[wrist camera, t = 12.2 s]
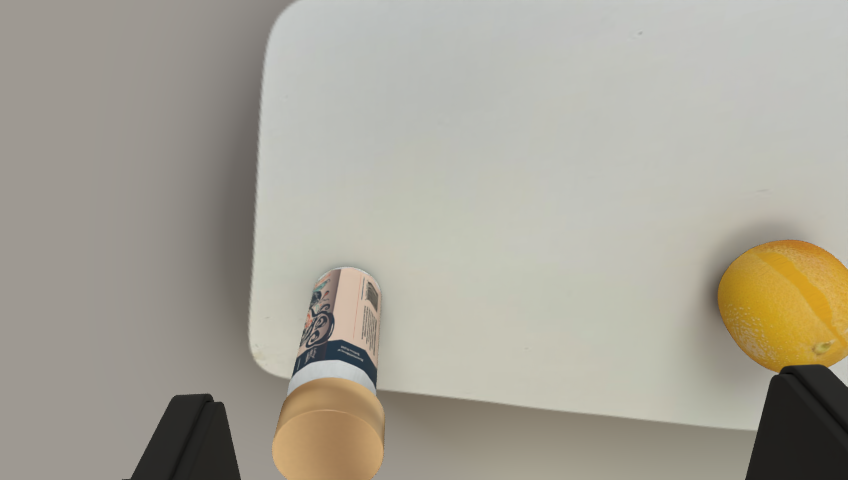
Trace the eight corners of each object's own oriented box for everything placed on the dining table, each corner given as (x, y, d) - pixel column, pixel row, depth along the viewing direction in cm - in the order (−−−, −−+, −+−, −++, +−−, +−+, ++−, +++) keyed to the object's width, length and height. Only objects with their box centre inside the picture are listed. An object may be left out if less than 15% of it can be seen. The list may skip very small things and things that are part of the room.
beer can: (318, 257, 42) (289, 365, 31) (387, 269, 43) (382, 379, 32) (309, 316, 44) (279, 437, 33) (375, 326, 45) (367, 449, 34)
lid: (289, 460, 34) (281, 497, 32) (272, 380, 32) (262, 414, 29) (389, 454, 34) (388, 490, 32) (380, 373, 32) (378, 406, 29)
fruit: (840, 275, 44) (925, 339, 37) (746, 346, 46) (810, 420, 39) (768, 199, 41) (846, 253, 34) (673, 279, 44) (727, 345, 36)
